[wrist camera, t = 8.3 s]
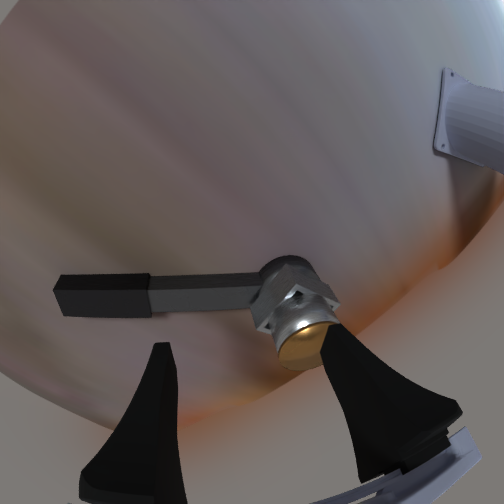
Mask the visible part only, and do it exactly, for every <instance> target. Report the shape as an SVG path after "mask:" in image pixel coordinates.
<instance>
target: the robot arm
mask: <svg viewBox="0 0 504 504" xmlns="http://www.w3.org/2000/svg"><path fill="white" fill-rule="evenodd" d="M441 146H442V147H441ZM434 148H435V149H436V150H438V151H441V152H444V153H447V154H450V155H452V156H455V157H458V158H461V159H463V160H466V161H469V162H471V163H474V164H476V165H479V166H481V167H484V166H487V167H490V168H492V169H494V170H496V171H498V172H499V173H501V174H503V175H504V92H503V91H499V90H495V89H491V88H486V87H481V86H476V85H473V84H472V83H471V82H469V81H468V80H466V79H465V78H463V77H462V76H460V75H459V74H457V73H456V72H454V71H453V70H451V69H450V68H444V69H443V77H442V89H441V99H440V107H439V115H438V122H437V128H436V134H435V140H434ZM320 355H321V359H322V362H323V365H324V368H325V371H326V374H327V375H328V378H329V380H330V383H331V385H332V387H333V389H334V391H335V394H336V396H337V398H338V400H339V402H340V404H341V407H342V409H343V412H344V415H345V418H346V421H347V424H348V428H349V431H350V435H351V439H352V443H353V447H354V452H355V457H356V463H357V468H358V477H359V480H360V482H361V483H364V482H367V481H369V480H371V479H373V478H376V477H378V476H380V475H383V474H384V475H385V476H383V477H381V478H379V479H377V480H374V481H372V482H370V483H367V484H365V485H363V486H360V487H357V488H355V489H353V490H350V491H347V492H344V493H342V494H339V495H336V496H333V497H330V498H327V499H324V500H320V501H317V502H313V503H310V504H348V503H351V502H353V501H356V500H358V499H361V498H363V497H365V496H368V495H370V494H372V493H375V492H377V493H376V496H375V497H373V498H370V499H368V500H365V501H363V502H360V503H358V504H431V503H432V502H433V501H435V500H436V499H437V498H438V497H439V496H441V495H442V494H443V493H444V492H445V491H447V490H448V489H449V488H450V487H451V486H452V485H453V484H454V483H456V482H457V481H458V480H459V479H460V478H461V477H462V476H463V475H464V474H465V473H466V472H468V471H469V470H470V469H471V468H472V467H473V466H474V465H475V464H476V463H478V462H479V461H480V460H481V459H482V456H481V454H480V452H479V450H478V448H477V446H476V444H475V442H474V440H473V439H472V437H471V435H470V433H469V431H468V429H467V427H466V426H464V427H463V428H462V429H461V430H459V431H458V432H456V433H455V434H454V435H452V436H451V437H449V438H447V436H446V435H447V434H448V433H449V432H448V430H447V427H449V426H450V425H451V424H452V423H453V422H455V421H456V420H457V419H458V418H459V417H460V416H461V415H462V413H463V412H462V410H461V408H460V407H459V405H458V403H457V402H456V400H454V399H450V398H447V397H445V396H441V395H439V394H437V393H434V392H432V391H430V390H427V389H425V388H423V387H421V386H419V385H417V384H416V383H414V382H412V381H410V380H409V379H407V378H405V377H404V376H402V375H401V374H399V373H398V372H396V371H395V370H393V369H392V368H391V367H389V366H388V365H387V364H386V363H384V362H383V361H382V360H380V359H379V358H378V357H377V356H376V355H374V354H373V353H372V352H371V351H370V350H369V349H367V348H366V347H365V346H364V345H363V344H362V343H361V342H360V341H359V340H358V339H357V338H356V337H355V336H354V335H352V334H351V333H350V332H349V331H348V330H347V329H346V328H345V327H344V326H343V325H342V324H341V323H338V324H333V325H329V326H328V329H327V332H326V335H325V338H324V341H323V344H322V347H321V350H320ZM177 407H178V382H177V368H176V365H175V361H174V358H173V354H172V350H171V346H170V342H160V343H155V344H154V345H153V349H152V352H151V355H150V358H149V361H148V364H147V366H146V369H145V372H144V374H143V376H142V379H141V381H140V384H139V386H138V388H137V390H136V392H135V394H134V396H133V398H132V401H131V403H130V404H129V406H128V408H127V410H126V412H125V414H124V415H123V417H122V419H121V421H120V422H119V424H118V425H117V427H116V428H115V430H114V432H113V433H112V434H111V436H110V437H109V439H108V440H107V442H106V443H105V444H104V445H103V447H102V448H101V449H100V451H99V452H98V453H97V454H96V456H95V457H94V458H93V459H92V460H91V461H90V462H89V463H88V464H87V465H86V467H85V468H84V469H83V470H82V471H81V475H80V480H79V498H80V499H81V500H82V501H85V502H88V503H91V504H187V499H186V494H185V489H184V483H183V479H182V472H181V466H180V458H179V450H178V441H177ZM67 504H70V503H67Z"/></svg>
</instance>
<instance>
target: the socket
mask: <svg viewBox="0 0 504 504" xmlns="http://www.w3.org/2000/svg"><path fill="white" fill-rule="evenodd" d="M297 290H298V291H300V292H302V294H297V295H295V296H292V295H293V294H294V293H295V292H296V291H297ZM340 305H341V304H340V302H339V301H338V299H337V297H336V296H335V294H334V293H333V291H332V289H331V288H330V286H329V285H328V284H326V283H324V282H322V281H320V280H318V279H316V278H314V277H312V276H310V275H308V274H306V273H304V272H302V271H300V270H298V269H296V268H294V267H292V266H290V265H288V264H285V265H284V266H283V267H282V269H281V270H280V271H279V272H278V274H277V275H276V276H275V277H274V279H273V280H272V281H271V282H270V284H269V285H268V286H267V287H266V289H265V290H264V291H263V292H262V293H261V295H260V296H259V297H258V298H257V300H256V301H255V302H254V303H253V304H252V306H251V307H250V309H251V313H252V317H253V320H254V324H255V328H256V330H258V331H261V332H265V333H268V334H271V335H272V337H273V340H274V343H275V346H276V349H277V352H278V358H279V361H280V363H281V365H282V366H283V367H285V368H286V369H289V370H294V371H303V370H309V369H313V368H316V367H318V366H321V365H323V362H322V359H321V355H320V350H321V347H322V344H323V341H324V338H325V335H326V332H327V329H328V326H329V325H333V324H338V323H340V322H339V320H338V319H337V317H336V315H335V313H334V311H335V310H336V309H337V308H338V307H339V306H340Z"/></svg>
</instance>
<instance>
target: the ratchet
mask: <svg viewBox="0 0 504 504" xmlns="http://www.w3.org/2000/svg"><path fill="white" fill-rule="evenodd" d="M285 264H288V265H290V266H292V267H294V268H296V269H298V270H300V271H302V272H304V273H306V274H308V275H310V276H312V277H314V278H316V279H318V280H320V278H319V277H318V275H317V274H316V272H315V270H314V269H313V267H312V266H311V264H310V263H309V262H308V261H307V260H306V259H304V258H302V257H299V256H294V255H288V256H282V257H278V258H276V259H274V260H272V261H270V262H269V263H267V264H266V265H265V266H264V267H263V268H262V269H261V270H260V271H259V272H256V273H235V274H210V275H182V276H149V273H142V274H93V275H61V276H60V278H59V279H58V281H57V283H56V285H55V287H54V288H53V292H54V294H55V297H56V299H57V302H58V304H59V306H60V309H61V311H62V313H63V316H71V317H104V318H152V312H180V311H206V310H225V309H242V308H250V307H251V306H252V304H253V303H254V302H255V301H256V300H257V298H258V297H259V296H260V295H261V293H262V292H263V291H264V290H265V289H266V287H267V286H268V285H269V284H270V282H271V281H272V280H273V279H274V277H275V276H276V275H277V274H278V272H279V271H280V270H281V269H282V267H283V266H284V265H285ZM320 281H321V280H320ZM297 294H302V292H300V291H298V290H297V291H296V292H295V293H294V294H293V295H292V296H295V295H297Z"/></svg>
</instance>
